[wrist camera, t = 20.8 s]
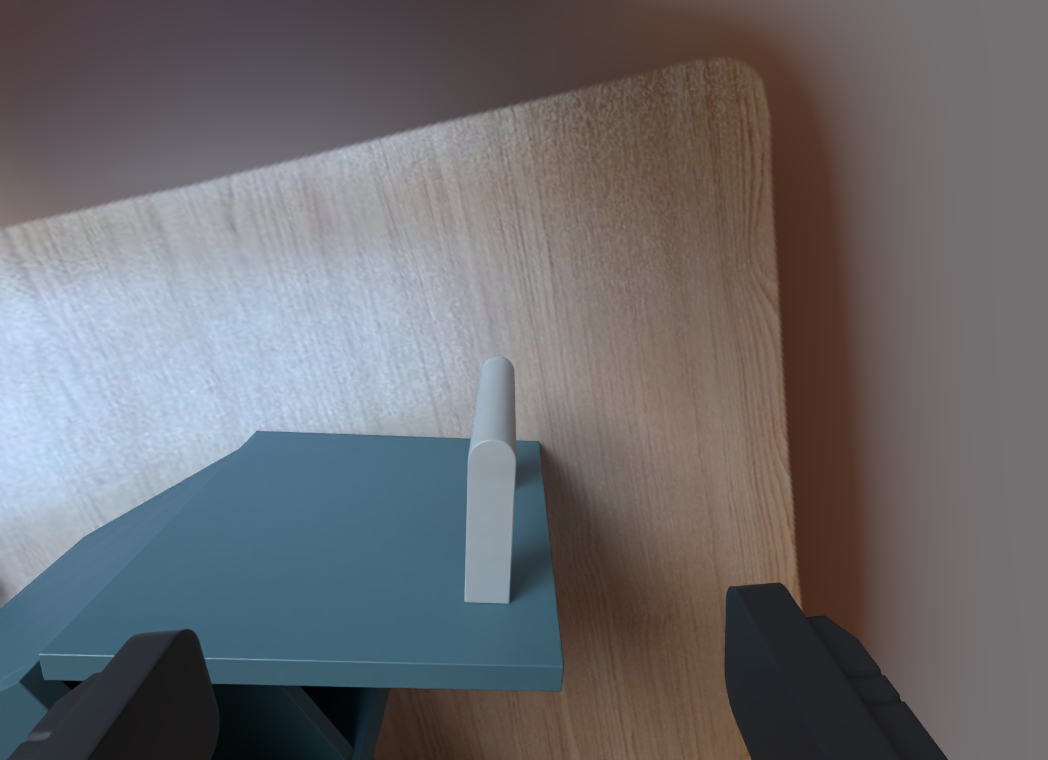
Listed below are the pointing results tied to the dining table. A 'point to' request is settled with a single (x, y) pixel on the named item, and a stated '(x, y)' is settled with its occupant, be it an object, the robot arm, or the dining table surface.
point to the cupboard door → (351, 564)
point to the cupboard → (245, 710)
